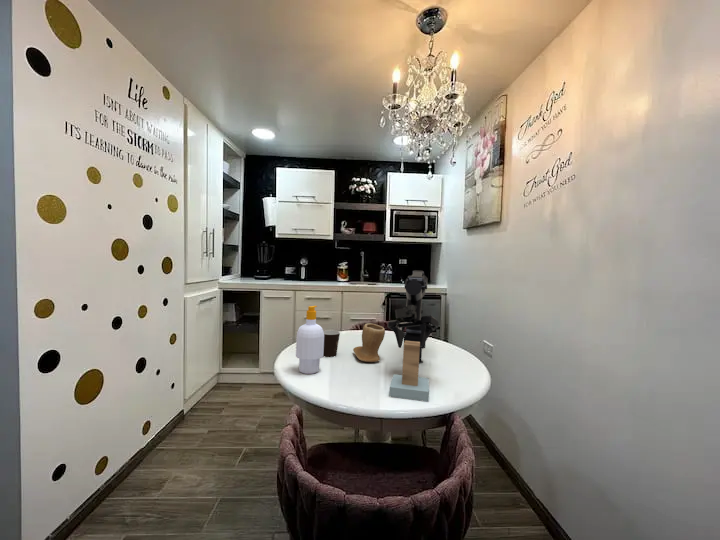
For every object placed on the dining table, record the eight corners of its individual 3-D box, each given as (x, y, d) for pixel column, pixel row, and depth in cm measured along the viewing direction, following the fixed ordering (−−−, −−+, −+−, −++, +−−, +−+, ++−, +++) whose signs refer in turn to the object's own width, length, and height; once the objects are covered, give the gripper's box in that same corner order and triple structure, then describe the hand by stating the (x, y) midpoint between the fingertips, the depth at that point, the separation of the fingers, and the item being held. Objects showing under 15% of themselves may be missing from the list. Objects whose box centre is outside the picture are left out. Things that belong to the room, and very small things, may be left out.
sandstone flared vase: (386, 364, 134) (388, 327, 134) (358, 364, 132) (359, 327, 132) (378, 353, 149) (379, 320, 149) (352, 353, 147) (354, 320, 147)
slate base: (393, 382, 114) (393, 374, 114) (428, 386, 112) (428, 378, 111) (389, 396, 102) (389, 387, 102) (428, 401, 100) (428, 391, 100)
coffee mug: (331, 359, 137) (332, 335, 137) (315, 355, 141) (316, 332, 141) (346, 352, 147) (347, 330, 147) (330, 349, 152) (331, 328, 151)
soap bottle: (327, 369, 125) (330, 306, 124) (313, 377, 115) (316, 309, 114) (305, 364, 129) (307, 303, 128) (289, 372, 119) (291, 306, 119)
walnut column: (403, 378, 110) (404, 340, 109) (418, 380, 109) (420, 341, 108) (401, 384, 105) (403, 344, 104) (417, 386, 104) (419, 345, 103)
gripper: (381, 301, 124) (375, 341, 117) (423, 294, 112) (420, 338, 105) (398, 312, 131) (394, 350, 124) (440, 306, 119) (438, 348, 112)
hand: (410, 347), depth 116 cm, fingers open, 9 cm apart
